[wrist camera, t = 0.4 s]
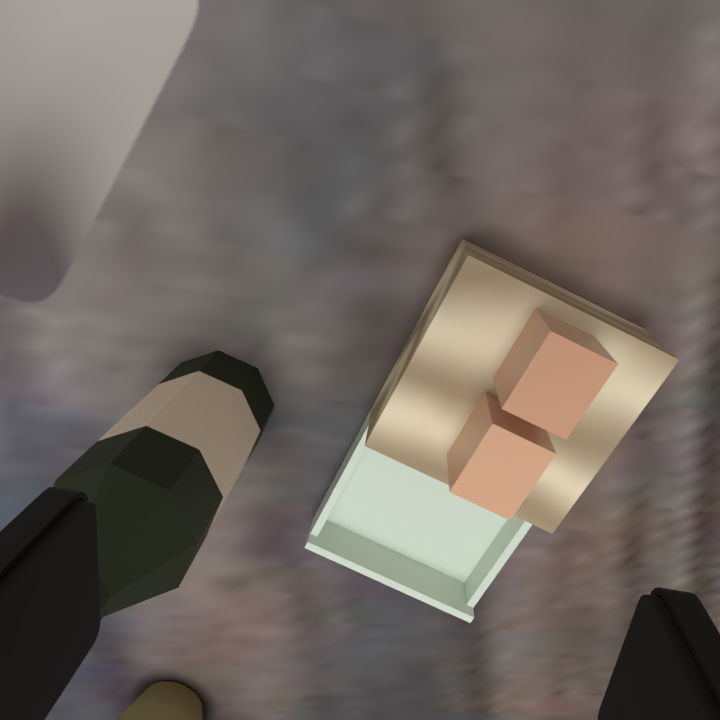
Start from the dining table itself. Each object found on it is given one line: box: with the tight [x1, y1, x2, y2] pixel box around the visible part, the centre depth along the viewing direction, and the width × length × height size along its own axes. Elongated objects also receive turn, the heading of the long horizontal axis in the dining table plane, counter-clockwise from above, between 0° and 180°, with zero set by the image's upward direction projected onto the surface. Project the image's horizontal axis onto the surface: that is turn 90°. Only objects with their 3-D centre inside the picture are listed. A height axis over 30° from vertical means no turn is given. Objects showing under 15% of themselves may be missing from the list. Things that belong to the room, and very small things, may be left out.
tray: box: [305, 408, 532, 623], centre depth 46 cm, size 11×14×4 cm
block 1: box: [493, 308, 618, 440], centre depth 34 cm, size 5×4×4 cm
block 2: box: [447, 392, 556, 520], centre depth 37 cm, size 5×4×4 cm
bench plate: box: [364, 238, 679, 533], centre depth 41 cm, size 14×14×6 cm
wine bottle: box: [53, 351, 274, 621], centre depth 33 cm, size 8×8×30 cm
